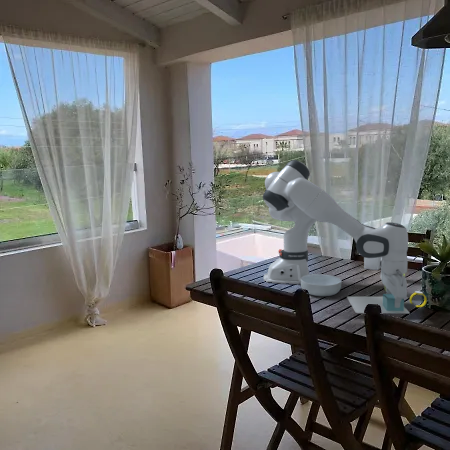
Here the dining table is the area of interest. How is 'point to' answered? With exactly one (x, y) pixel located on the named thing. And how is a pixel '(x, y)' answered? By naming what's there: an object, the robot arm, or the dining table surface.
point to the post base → (361, 303)
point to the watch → (418, 294)
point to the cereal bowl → (321, 284)
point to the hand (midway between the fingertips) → (393, 302)
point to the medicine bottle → (372, 263)
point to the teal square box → (391, 303)
